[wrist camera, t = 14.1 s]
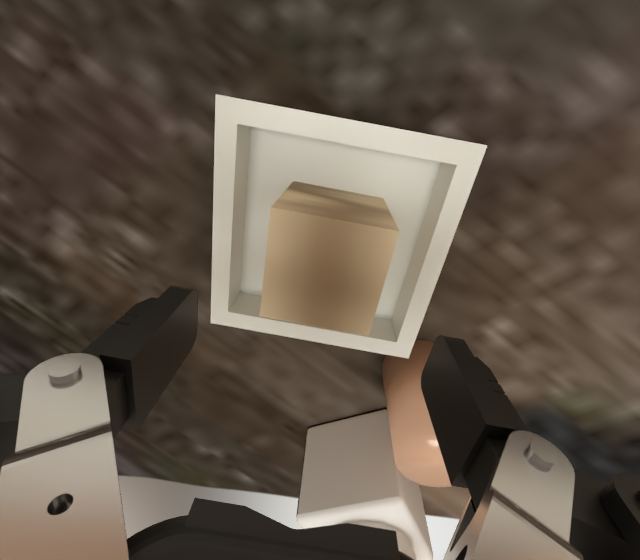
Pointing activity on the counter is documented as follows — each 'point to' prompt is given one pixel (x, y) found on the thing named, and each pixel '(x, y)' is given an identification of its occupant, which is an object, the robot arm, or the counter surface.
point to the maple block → (327, 258)
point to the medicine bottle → (361, 483)
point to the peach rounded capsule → (412, 419)
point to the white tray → (343, 174)
